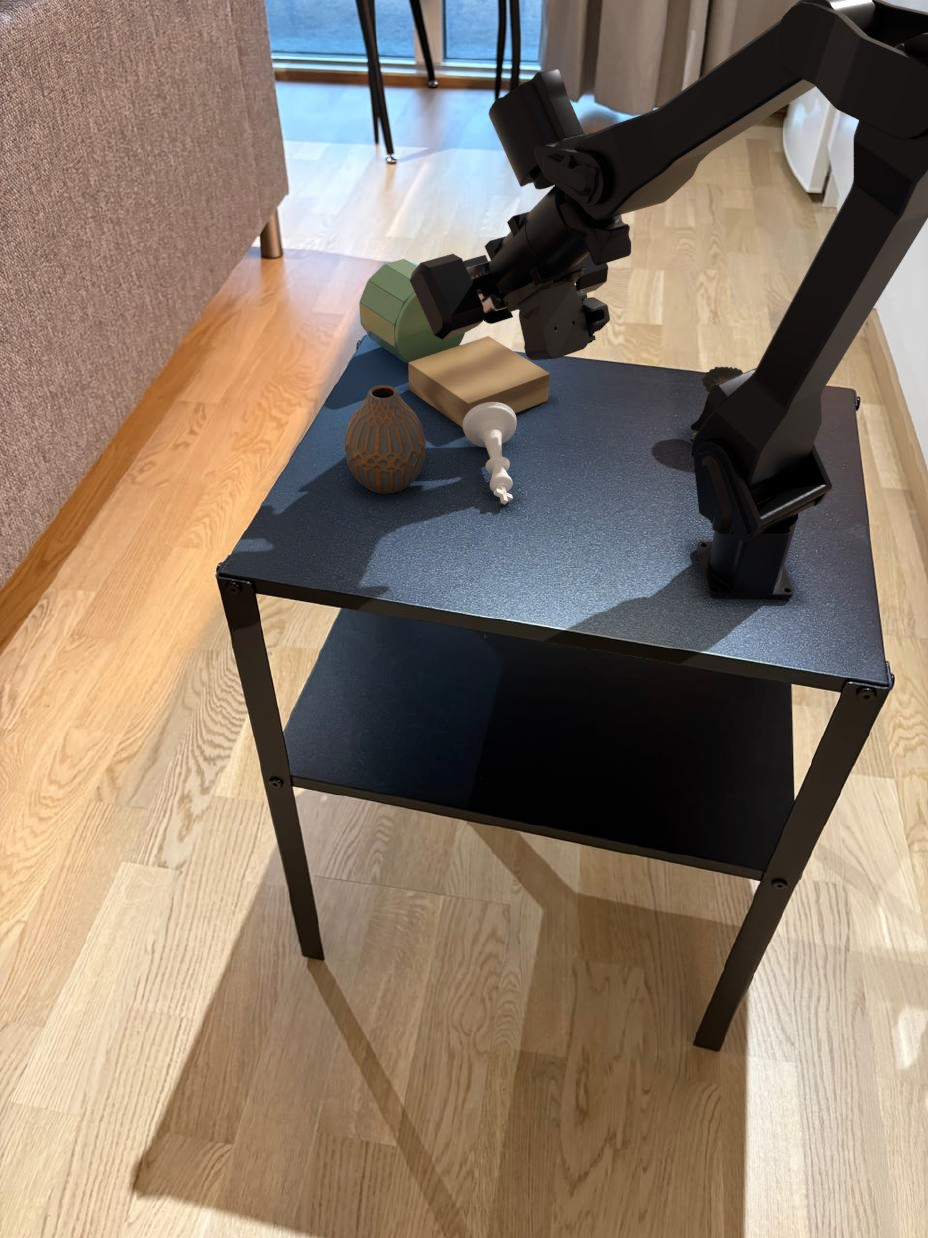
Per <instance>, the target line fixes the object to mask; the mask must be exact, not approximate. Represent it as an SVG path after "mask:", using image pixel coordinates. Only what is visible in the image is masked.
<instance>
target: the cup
mask: <svg viewBox="0 0 928 1238" xmlns="http://www.w3.org/2000/svg"><path fill="white" fill-rule="evenodd" d="M418 265H419V264H417V263H416V262H413V261H410V260H408V259H406V258H401V259H397V260H394V261H390V262H387V263H384V264H383V265H382V266H381V267H379V268H378V270H376V272H375V273H373V275H371V277H369V279H368V280H367V281H366V284H365V287H364V289H363V291H362V294H361V297H360V299H359V302H358V304H359V322H360V323H359V324H360V325H361V327H362V329H363V330H364V331H365V333H366V335H368V337H369V339H370V340H371V341H373V342H375V343H376V344H378V345H379V346H380V347H382V348H383V349H384V350H386V351H388V352H389V353H390V354H392V355H393V356H395V357H397V358H398V360H401V361H402V362H403V363H404V364H405V363H406V364H408V363H409V362H411V361H414V360H417V359H420V358H423V357H426V356H429V355H433V354H436V353H439V352H442V351H445V350H448V349H451V348H454V347H457V346H460V345H461V343H462V342H463V340H464V337H465V335H466V332H465V333H462V334H459V335H456V336H453V337H450V338H447V339H444V340H442V339H440V338H438V337H436V336H434V334H433V331H432V329H431V327H430V325H429V322H428V320H427V318H426V316H425V314H424V311H423V309H422V307H421V305H420V303H419V300H418V298H417V296H416V294H415V291H414V289H413V287H412V285H411V283H410V277H411V275H412V272H413V271H414V270H415V269H416V268H417V266H418Z"/></svg>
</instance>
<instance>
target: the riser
mask: <svg viewBox="0 0 928 1238" xmlns="http://www.w3.org/2000/svg"><path fill="white" fill-rule="evenodd" d="M407 364H408V365H407V367H408V368H407V369H408V391H410V392H411V393H413V394H414V395H416V396H417V397H419V398H420V399H421V400H422V401H424V402H426V403H427V404H429V405H430V406H431V407H433V408H434V409H436V411H438V412H440V413H441V414H443V416H445V417H447V418H448V419H449V420H451V421H452V422H454V423H455V424H456V425H458V426H459V427H460V428H462V429H463V420H464V418H465V416H466V414H467V413H468V412H469V411H470V410H471V409H472V408H474V407H475V406H477V405H480V404H483V403H487V402H498V403H502V404H505V405H507V406H509V407H510V408H511V409H512V410H513V411H514V413H515V414H516V413H520V412H522V411H525V410H527V409H530V408H532V407H535V406H538V405H540V404H543V403H545V402H548V401H549V393H550V391H549V390H550V381H551V379H550V378H551V373H550V372H549V371H547V370H545V369H544V368H542V367H540V366H539V365H537V364H535V363H534V362H531V361H530V360H529V359H528V358H525V356H522V355H521V354H519V353H517V352H516V351H514V350H512V349H511V348H509V347H507V346H506V345H505V344H503V343H501V342H500V341H497V340H496V339H494V338H493V337H491V336H489V335H486V336H483V337H481V338H478V339H475V340H472V341H468V342H465V343H462V344H460V345H459V346H457V347H454V348H451V349H448V350H445V351H442V352H439V353H436V354H433V355H429V356H426V357H423V358H420V359H417V360H414V361H411V362H409V363H407Z"/></svg>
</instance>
